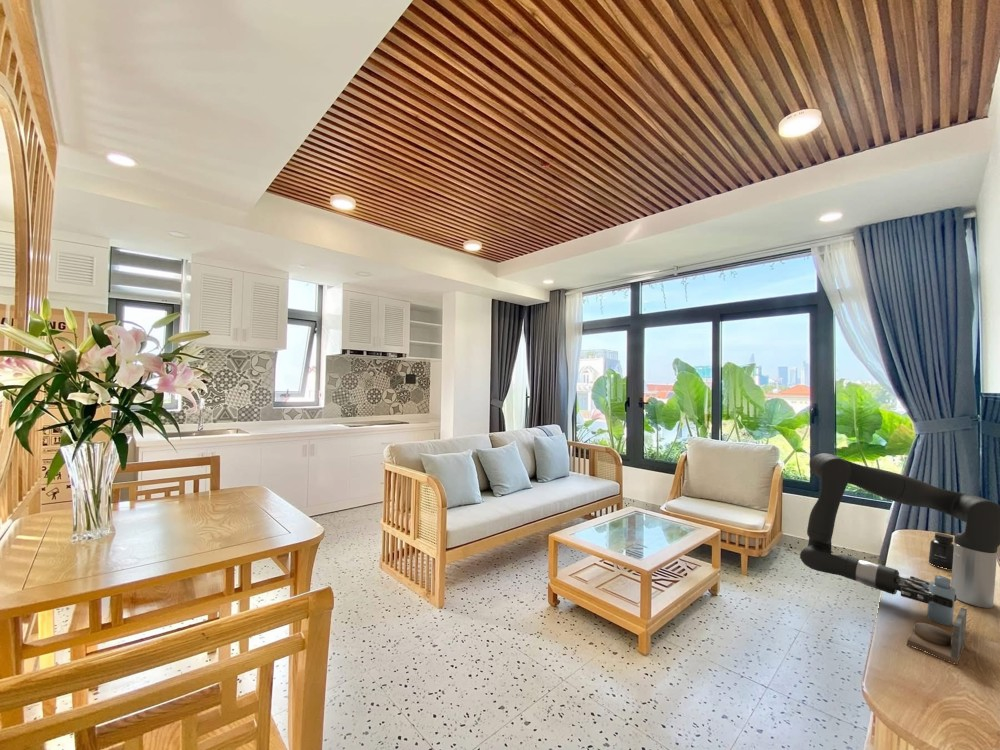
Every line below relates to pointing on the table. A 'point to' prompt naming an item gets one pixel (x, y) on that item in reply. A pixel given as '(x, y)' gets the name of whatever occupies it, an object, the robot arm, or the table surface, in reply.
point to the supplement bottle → (941, 551)
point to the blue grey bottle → (936, 610)
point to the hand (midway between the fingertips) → (954, 601)
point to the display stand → (940, 639)
